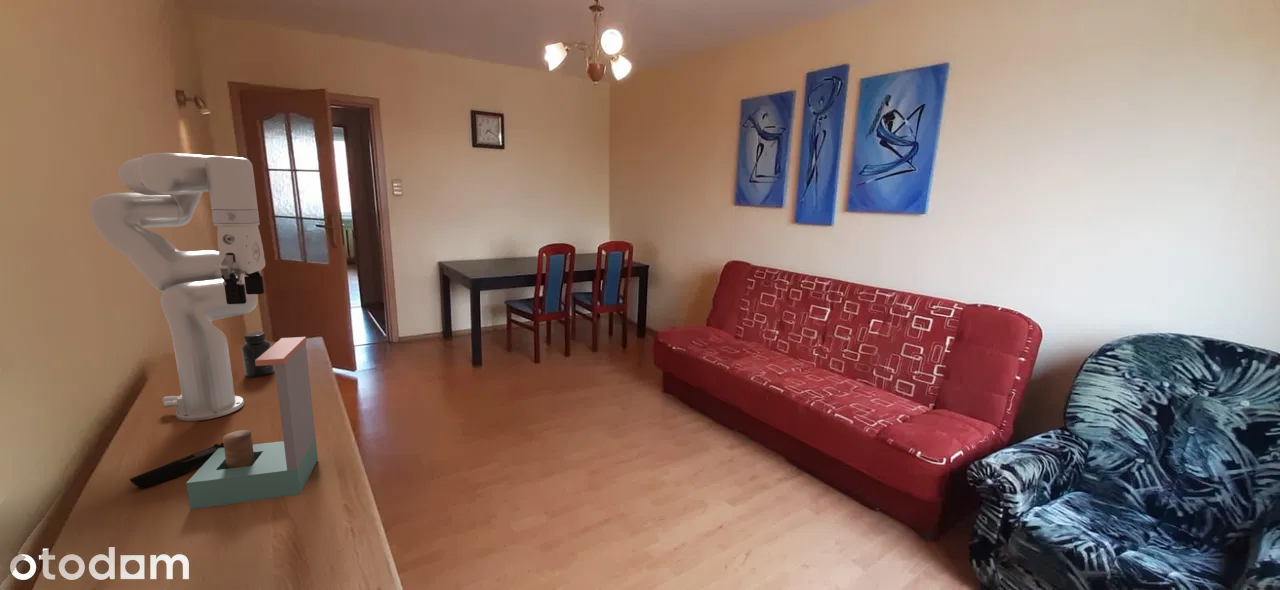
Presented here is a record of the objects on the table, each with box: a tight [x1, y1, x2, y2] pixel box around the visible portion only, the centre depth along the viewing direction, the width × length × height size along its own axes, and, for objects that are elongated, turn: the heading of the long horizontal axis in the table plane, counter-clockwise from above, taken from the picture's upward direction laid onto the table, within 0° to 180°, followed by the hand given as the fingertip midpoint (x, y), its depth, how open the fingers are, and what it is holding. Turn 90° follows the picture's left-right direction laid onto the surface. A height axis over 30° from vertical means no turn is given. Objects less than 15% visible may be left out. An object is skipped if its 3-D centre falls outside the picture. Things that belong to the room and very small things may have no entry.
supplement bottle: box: [241, 331, 275, 378], centre depth 144 cm, size 7×7×12 cm
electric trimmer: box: [129, 442, 224, 489], centre depth 96 cm, size 4×16×3 cm, turn 156°
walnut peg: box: [222, 429, 255, 469], centre depth 91 cm, size 4×4×10 cm
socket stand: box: [185, 336, 319, 510], centre depth 91 cm, size 16×13×26 cm
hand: (246, 298), depth 107 cm, fingers open, 9 cm apart
